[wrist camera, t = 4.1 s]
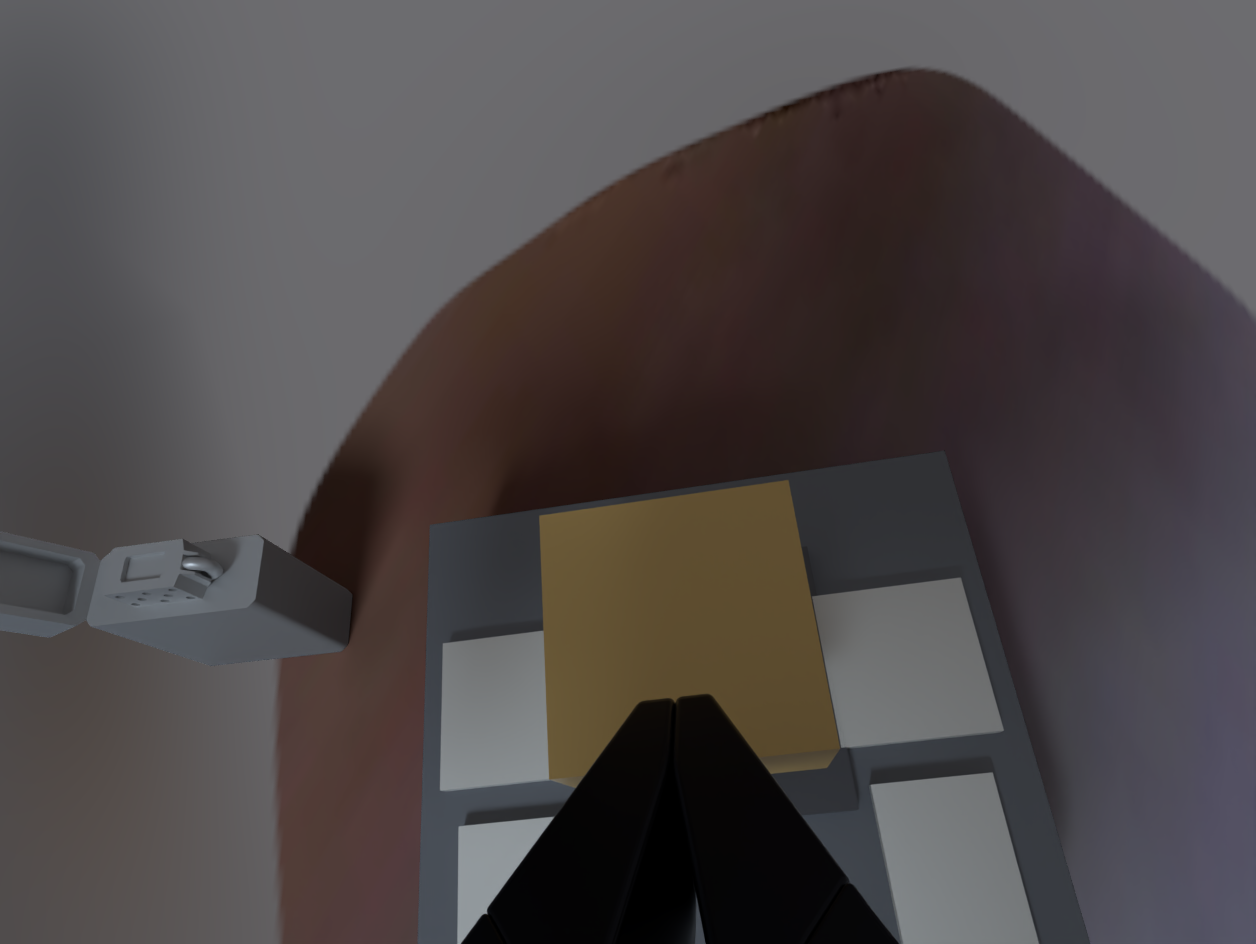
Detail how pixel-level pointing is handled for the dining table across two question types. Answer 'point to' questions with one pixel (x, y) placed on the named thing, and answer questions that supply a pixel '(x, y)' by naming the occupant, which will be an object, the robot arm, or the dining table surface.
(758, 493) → the key
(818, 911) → the robot arm
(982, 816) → the keypad
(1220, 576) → the dining table surface
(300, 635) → the lighter
